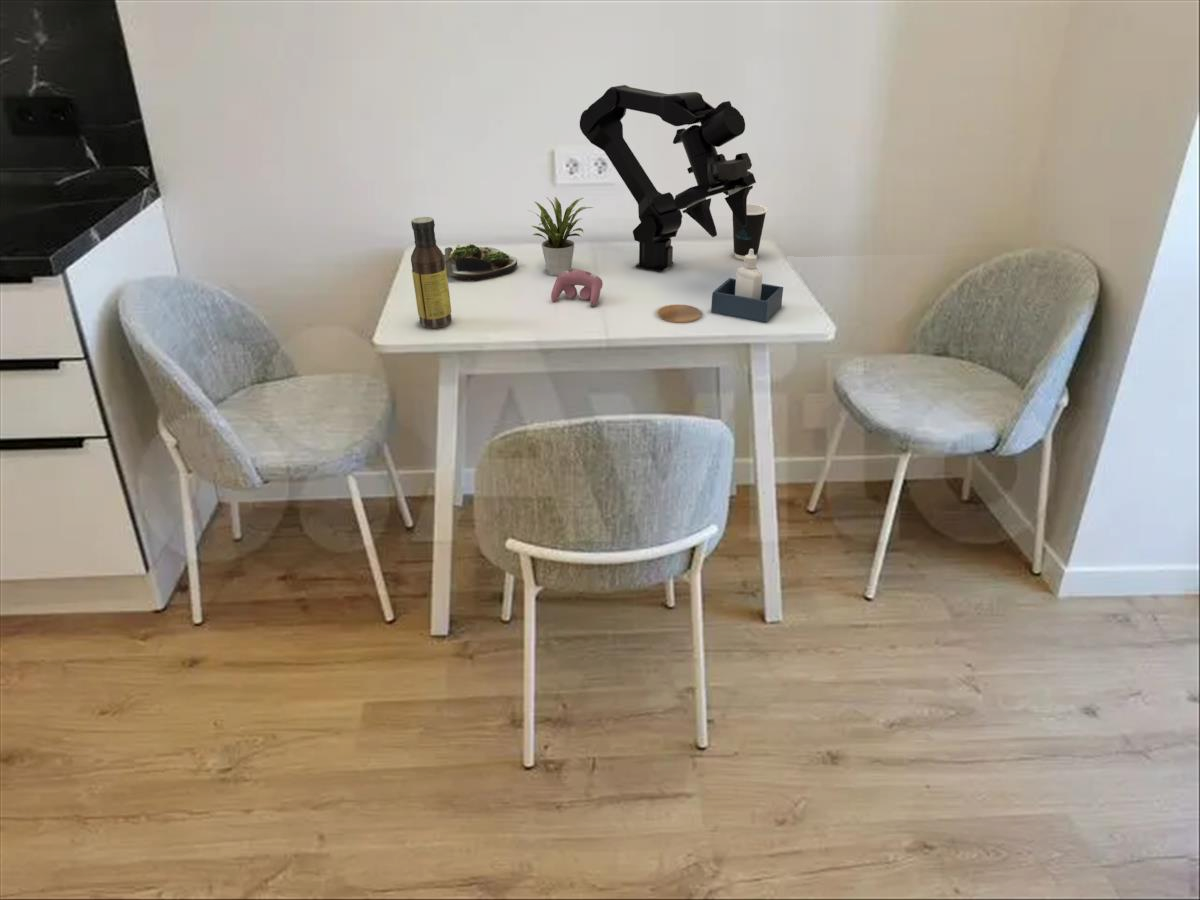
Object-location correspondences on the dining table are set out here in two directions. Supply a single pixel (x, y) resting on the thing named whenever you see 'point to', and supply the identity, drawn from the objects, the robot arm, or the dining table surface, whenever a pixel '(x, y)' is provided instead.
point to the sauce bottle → (429, 276)
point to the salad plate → (477, 262)
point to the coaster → (679, 313)
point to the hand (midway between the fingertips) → (729, 231)
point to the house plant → (558, 237)
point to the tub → (746, 302)
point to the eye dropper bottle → (749, 278)
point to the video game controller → (578, 277)
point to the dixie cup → (748, 231)
